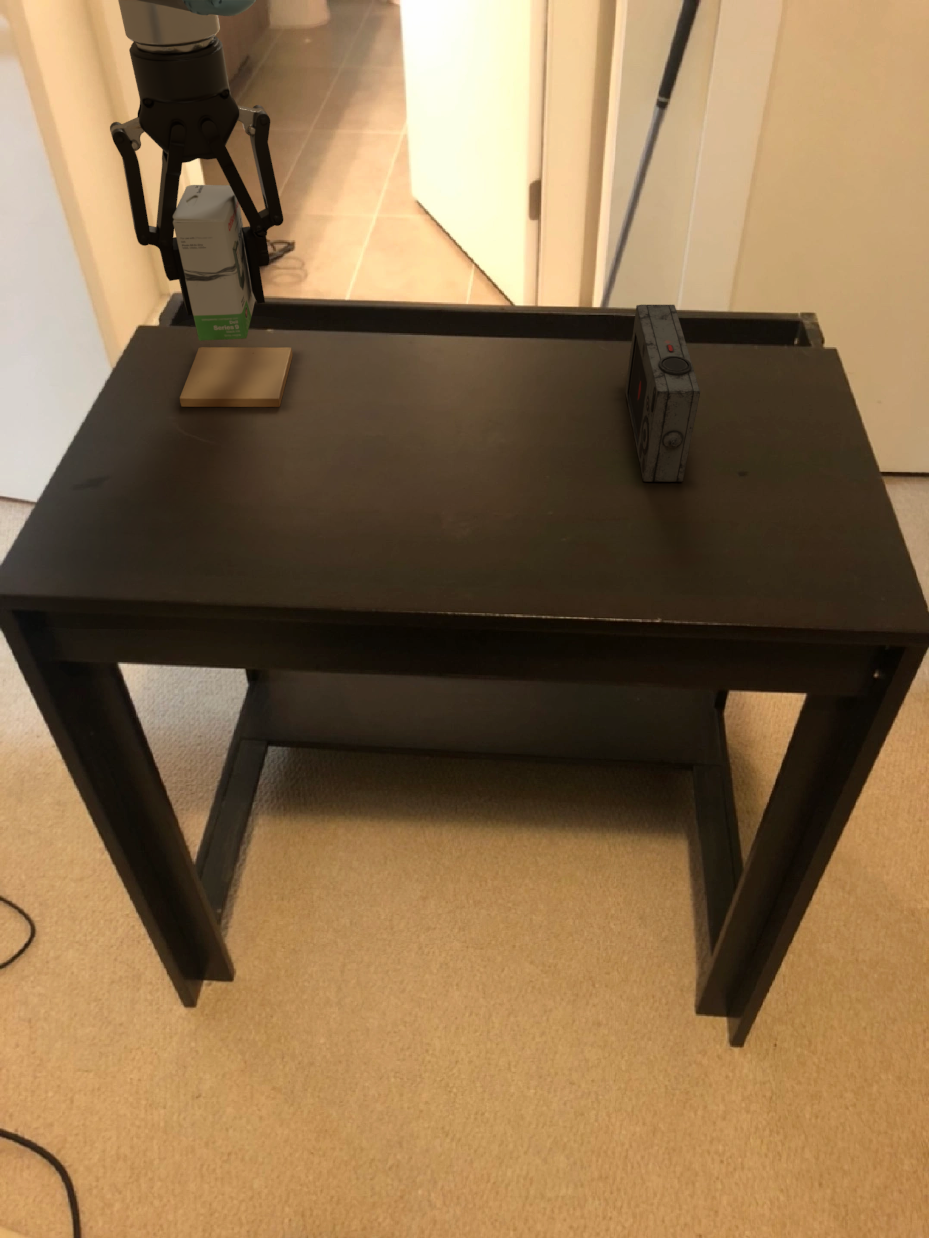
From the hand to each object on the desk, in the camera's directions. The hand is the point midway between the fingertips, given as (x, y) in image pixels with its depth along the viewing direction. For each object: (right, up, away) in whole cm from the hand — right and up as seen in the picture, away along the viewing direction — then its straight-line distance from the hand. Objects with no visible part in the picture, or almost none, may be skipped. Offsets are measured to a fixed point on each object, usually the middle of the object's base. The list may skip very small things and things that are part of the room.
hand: (224, 302), depth 97 cm
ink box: (0, -1, +1) cm, 2 cm away
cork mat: (0, -6, +6) cm, 9 cm away
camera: (+42, -14, -1) cm, 44 cm away
